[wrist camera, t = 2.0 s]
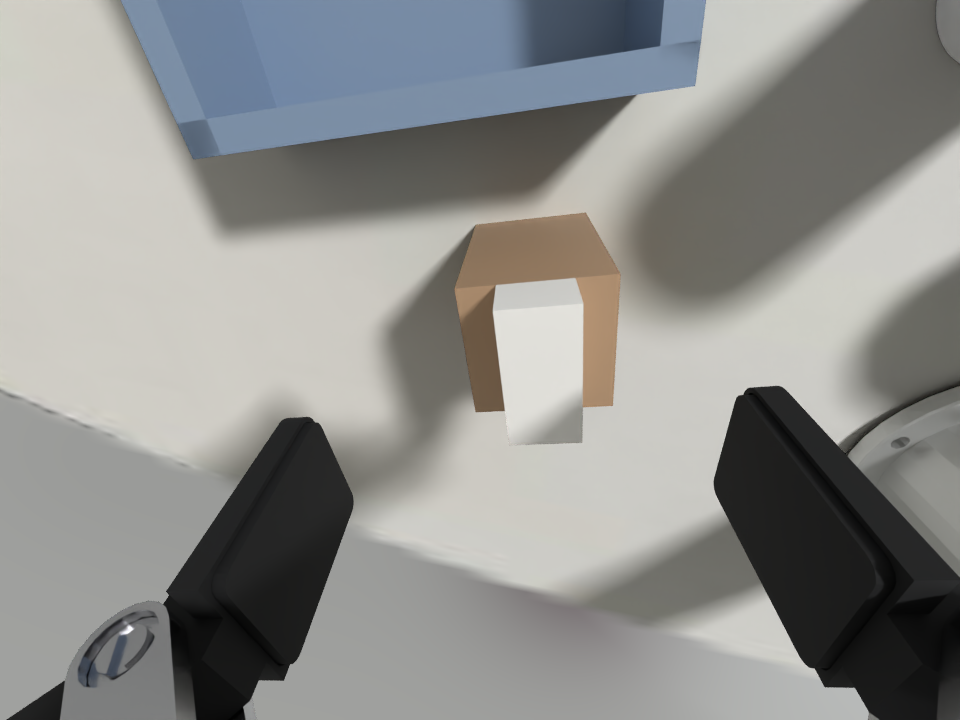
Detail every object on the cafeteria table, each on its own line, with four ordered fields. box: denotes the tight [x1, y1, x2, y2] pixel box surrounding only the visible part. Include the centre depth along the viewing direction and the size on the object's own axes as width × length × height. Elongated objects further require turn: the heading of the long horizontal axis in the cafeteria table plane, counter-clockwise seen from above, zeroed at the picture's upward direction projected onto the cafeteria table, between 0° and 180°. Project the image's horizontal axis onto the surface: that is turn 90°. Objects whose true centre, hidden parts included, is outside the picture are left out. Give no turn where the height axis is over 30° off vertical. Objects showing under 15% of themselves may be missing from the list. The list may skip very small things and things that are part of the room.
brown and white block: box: [454, 213, 620, 445], centre depth 16 cm, size 5×5×9 cm
